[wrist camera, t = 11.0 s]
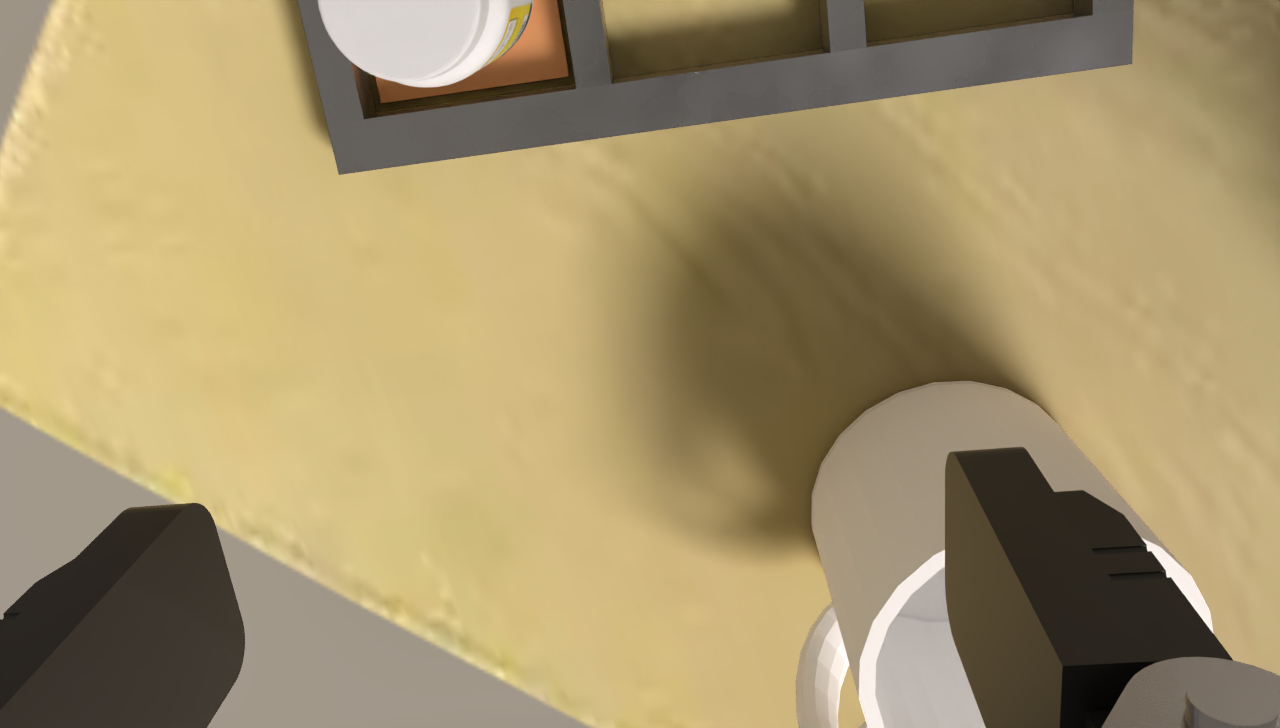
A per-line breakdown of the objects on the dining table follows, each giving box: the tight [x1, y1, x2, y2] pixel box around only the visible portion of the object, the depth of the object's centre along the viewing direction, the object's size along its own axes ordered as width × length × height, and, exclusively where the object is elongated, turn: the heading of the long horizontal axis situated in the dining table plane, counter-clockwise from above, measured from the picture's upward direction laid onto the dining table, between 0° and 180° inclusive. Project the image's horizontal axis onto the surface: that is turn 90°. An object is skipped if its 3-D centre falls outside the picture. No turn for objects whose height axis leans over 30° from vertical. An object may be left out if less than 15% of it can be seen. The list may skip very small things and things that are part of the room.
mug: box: [796, 381, 1213, 728], centre depth 35 cm, size 13×10×10 cm
